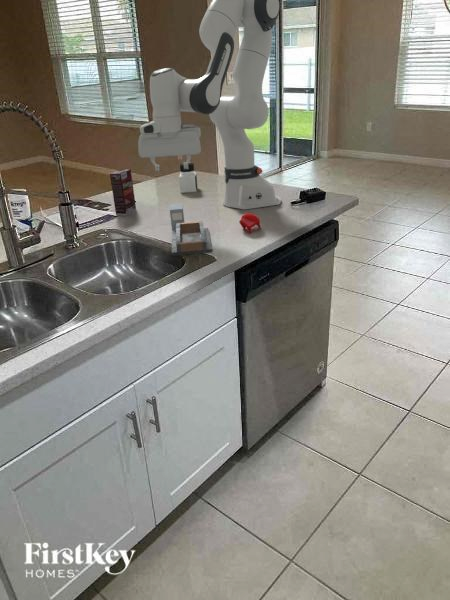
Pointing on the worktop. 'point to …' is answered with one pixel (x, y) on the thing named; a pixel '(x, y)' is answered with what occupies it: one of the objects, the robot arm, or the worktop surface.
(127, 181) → the supplement box
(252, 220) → the red toy chair
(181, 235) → the grey tray
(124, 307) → the worktop surface
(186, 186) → the medicine bottle
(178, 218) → the block
